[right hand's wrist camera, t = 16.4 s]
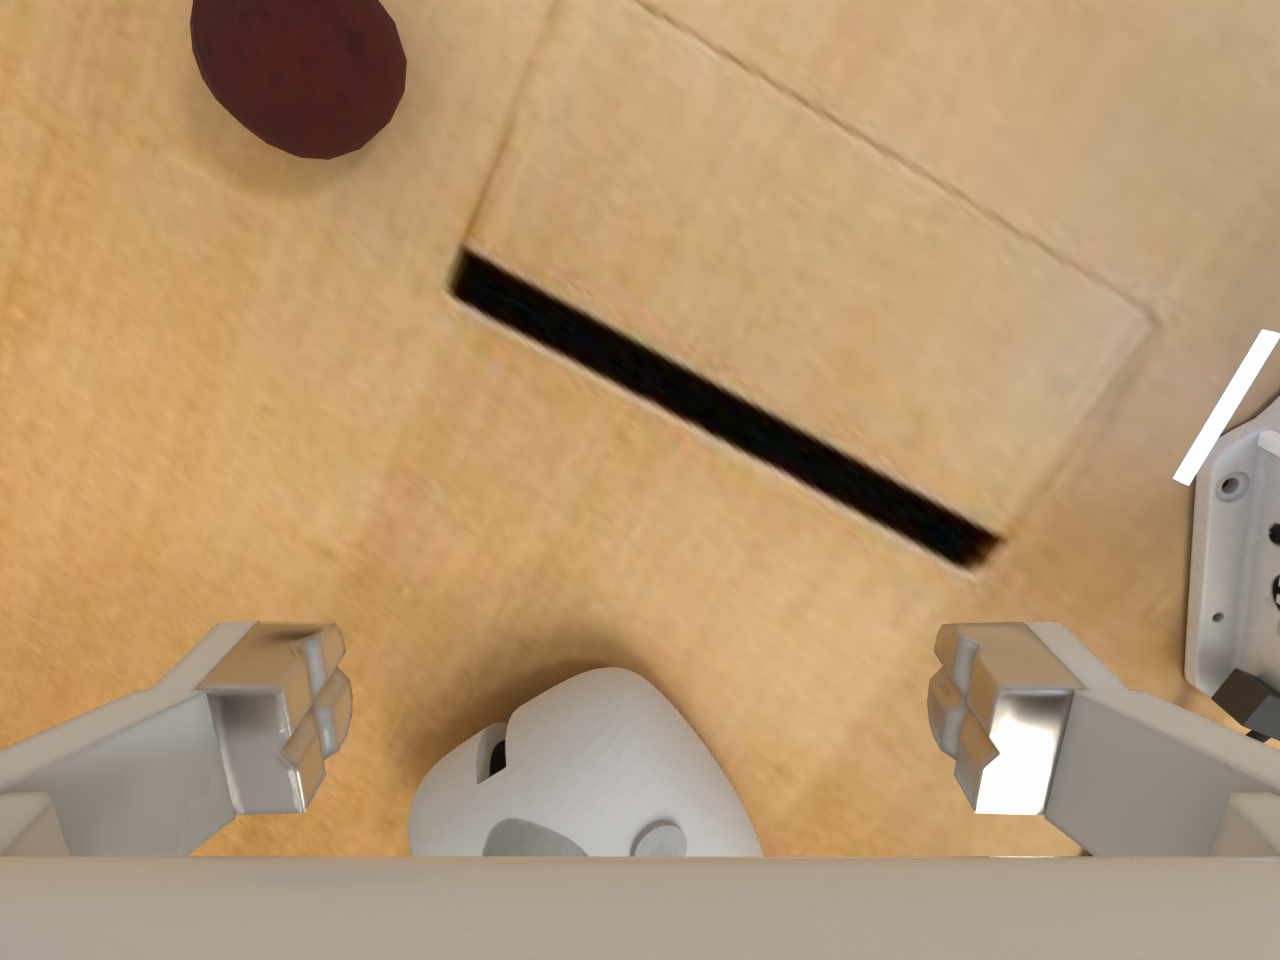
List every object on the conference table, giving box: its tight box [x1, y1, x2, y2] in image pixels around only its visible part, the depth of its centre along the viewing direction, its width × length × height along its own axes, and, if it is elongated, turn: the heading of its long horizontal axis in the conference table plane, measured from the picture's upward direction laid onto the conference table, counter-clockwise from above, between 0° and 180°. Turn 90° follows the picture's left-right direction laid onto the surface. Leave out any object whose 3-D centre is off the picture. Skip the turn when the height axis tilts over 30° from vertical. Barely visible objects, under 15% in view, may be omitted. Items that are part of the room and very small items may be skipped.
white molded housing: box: [408, 667, 764, 856], centre depth 40 cm, size 22×23×15 cm
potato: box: [190, 0, 407, 160], centre depth 30 cm, size 7×8×7 cm
